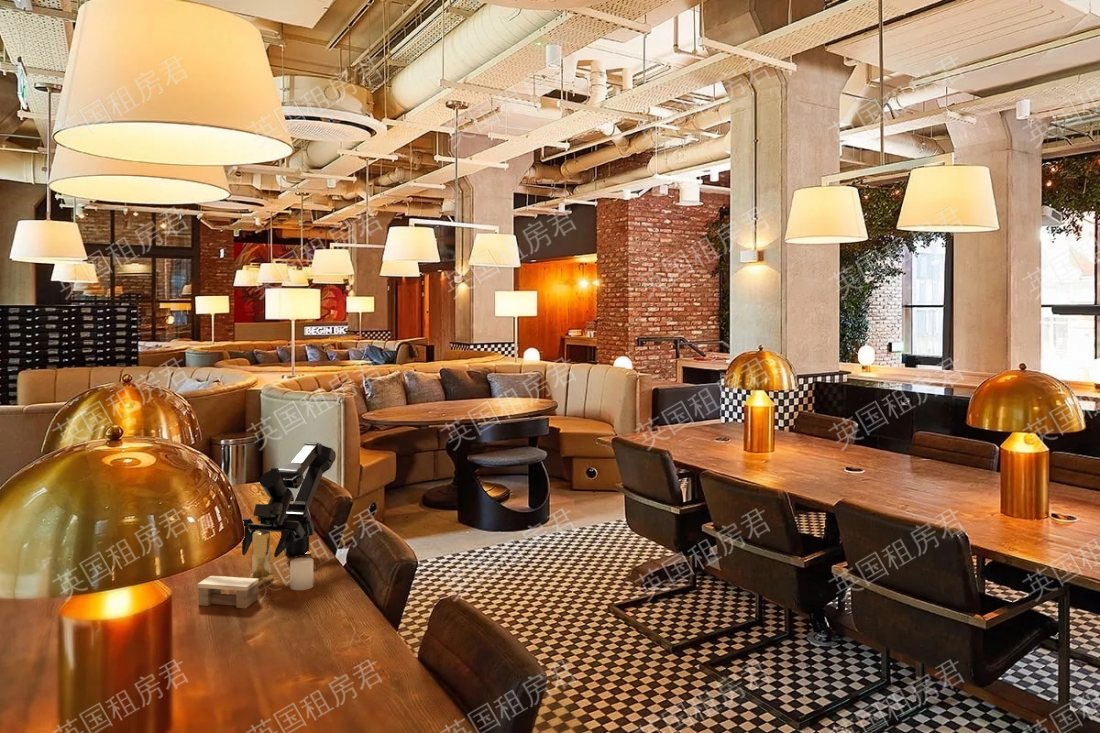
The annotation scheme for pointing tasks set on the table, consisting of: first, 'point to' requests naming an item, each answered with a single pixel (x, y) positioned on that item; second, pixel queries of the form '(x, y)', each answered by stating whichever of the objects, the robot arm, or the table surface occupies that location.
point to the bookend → (261, 557)
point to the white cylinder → (301, 573)
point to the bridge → (214, 584)
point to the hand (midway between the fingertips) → (259, 555)
